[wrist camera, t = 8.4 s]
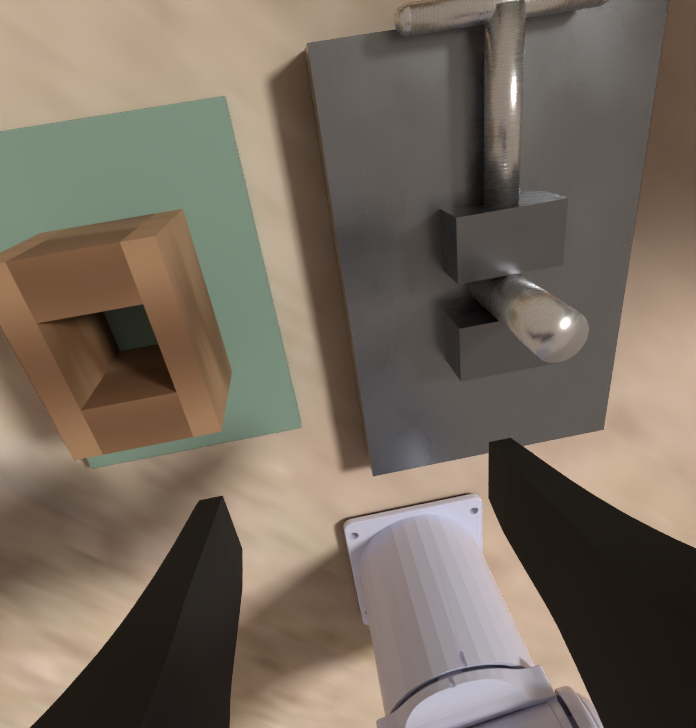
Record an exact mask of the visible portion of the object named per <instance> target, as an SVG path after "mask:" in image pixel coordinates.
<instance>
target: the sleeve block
mask: <svg viewBox="0 0 696 728" xmlns="http://www.w3.org/2000/svg"><path fill="white" fill-rule="evenodd" d="M141 304H143V305H144V307H145V310H146V313H147V315H148V318H149V321H150V323H151V326H152V329H153V331H154V334H155V336H156V339H157V342H158V344H157V345H151V346H146V347H140V348H135V349H130V350H124V351H120V349H119V347H118V345H117V342H116V340H115V338H114V335H113V333H112V331H111V328H110V326H109V324H108V321H107V319H106V317H105V314H104V312H103V311H108V310H114V309H119V308H125V307H130V306H136V305H141ZM0 326H1V328H2V330H3V332H4V333H5V335H6V337H7V339H8V341H9V343H10V344H11V346H12V348H13V350H14V352H15V353H16V355H17V357H18V359H19V361H20V363H21V364H22V366H23V368H24V370H25V372H26V373H27V375H28V377H29V379H30V381H31V383H32V384H33V386H34V388H35V390H36V392H37V393H38V395H39V397H40V399H41V401H42V403H43V404H44V406H45V408H46V410H47V412H48V413H49V415H50V417H51V419H52V421H53V423H54V424H55V426H56V428H57V430H58V432H59V433H60V435H61V437H62V439H63V441H64V443H65V444H66V446H67V448H68V450H69V452H70V453H71V455H72V457H73V459H74V460H79V459H84V458H89V457H94V456H100V455H105V454H110V453H115V452H120V451H125V450H130V449H135V448H140V447H146V446H151V445H156V444H161V443H166V442H171V441H176V440H181V439H186V438H191V437H197V436H202V435H207V434H212V433H217V432H222V426H223V421H224V415H225V409H226V403H227V398H228V392H229V386H230V381H231V375H232V369H231V366H230V363H229V359H228V356H227V353H226V350H225V346H224V343H223V340H222V336H221V333H220V330H219V326H218V323H217V320H216V317H215V313H214V310H213V307H212V303H211V300H210V297H209V293H208V290H207V287H206V283H205V280H204V277H203V274H202V270H201V267H200V264H199V260H198V257H197V254H196V250H195V247H194V244H193V241H192V237H191V234H190V231H189V227H188V224H187V221H186V217H185V214H184V211H183V209H178V210H172V211H166V212H160V213H155V214H149V215H143V216H137V217H131V218H125V219H120V220H114V221H108V222H102V223H96V224H90V225H85V226H79V227H73V228H67V229H61V230H55V231H49V232H44V233H39V234H37V235H35V236H33V237H31V238H29V239H27V240H25V241H23V242H21V243H19V244H17V245H15V246H13V247H11V248H9V249H7V250H5V251H3V252H1V253H0Z"/></svg>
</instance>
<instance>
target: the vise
mask: <svg viewBox="0 0 696 728" xmlns="http://www.w3.org/2000/svg"><path fill="white" fill-rule="evenodd" d="M668 5H669V0H423V1H416V2H410V3H405V4H403V5H401V6H400V7H399V8H398V10H397V12H396V14H395V18H394V23H395V27H396V30H390V31H383V32H377V33H370V34H364V35H357V36H351V37H344V38H338V39H331V40H325V41H318V42H312V43H307V45H306V48H305V55H306V62H307V68H308V74H309V81H310V87H311V94H312V100H313V107H314V113H315V120H316V126H317V132H318V139H319V145H320V152H321V158H322V165H323V171H324V178H325V184H326V190H327V197H328V203H329V210H330V216H331V223H332V229H333V236H334V242H335V248H336V255H337V261H338V268H339V274H340V281H341V287H342V294H343V300H344V306H345V313H346V319H347V326H348V332H349V339H350V345H351V352H352V358H353V364H354V371H355V377H356V384H357V390H358V397H359V403H360V410H361V416H362V422H363V429H364V435H365V442H366V448H367V455H368V459H369V463H370V466H371V470H372V474H373V476H377V475H382V474H387V473H392V472H397V471H402V470H407V469H411V468H416V467H421V466H426V465H431V464H436V463H441V462H446V461H451V460H456V459H461V458H466V457H471V456H476V455H480V454H485V453H489V442H491V441H496V440H501V439H506V438H512V439H513V440H515V441H516V442H518V443H519V444H520V445H522V446H525V445H530V444H535V443H540V442H545V441H549V440H554V439H559V438H564V437H569V436H574V435H579V434H584V433H589V432H594V431H599V430H604V423H605V417H606V410H607V404H608V397H609V391H610V384H611V378H612V371H613V365H614V358H615V351H616V345H617V338H618V332H619V325H620V319H621V312H622V306H623V299H624V293H625V286H626V279H627V273H628V266H629V260H630V253H631V247H632V240H633V234H634V227H635V221H636V214H637V207H638V201H639V194H640V188H641V181H642V175H643V168H644V162H645V155H646V149H647V142H648V135H649V129H650V122H651V116H652V109H653V103H654V96H655V90H656V83H657V77H658V70H659V63H660V57H661V50H662V44H663V37H664V31H665V24H666V18H667V11H668Z"/></svg>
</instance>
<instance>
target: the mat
mask: <svg viewBox="0 0 696 728" xmlns="http://www.w3.org/2000/svg"><path fill="white" fill-rule="evenodd" d="M178 209H183V211H184V214H185V217H186V221H187V224H188V227H189V231H190V234H191V237H192V241H193V244H194V247H195V250H196V254H197V257H198V260H199V264H200V267H201V270H202V274H203V277H204V280H205V283H206V287H207V290H208V293H209V297H210V300H211V303H212V307H213V310H214V313H215V317H216V320H217V323H218V326H219V330H220V333H221V336H222V340H223V343H224V346H225V350H226V353H227V356H228V359H229V363H230V366H231V369H232V375H231V381H230V386H229V392H228V398H227V403H226V409H225V415H224V421H223V426H222V432H217V433H212V434H207V435H202V436H197V437H191V438H186V439H181V440H176V441H171V442H166V443H161V444H156V445H151V446H146V447H140V448H135V449H130V450H125V451H120V452H115V453H110V454H105V455H100V456H94V457H89V458H86V459H87V461H88V463H89V465H90V467H91V468H92V469H94V468H99V467H104V466H109V465H114V464H119V463H125V462H130V461H135V460H140V459H145V458H150V457H155V456H160V455H165V454H170V453H176V452H181V451H186V450H191V449H196V448H201V447H206V446H211V445H216V444H221V443H227V442H232V441H237V440H242V439H247V438H252V437H257V436H262V435H267V434H272V433H278V432H283V431H288V430H293V429H298V428H301V420H300V415H299V411H298V407H297V402H296V398H295V394H294V390H293V385H292V381H291V377H290V372H289V368H288V364H287V360H286V355H285V351H284V347H283V342H282V338H281V334H280V330H279V325H278V321H277V317H276V312H275V308H274V304H273V300H272V295H271V291H270V287H269V282H268V278H267V274H266V270H265V265H264V261H263V257H262V252H261V248H260V244H259V240H258V235H257V231H256V227H255V222H254V218H253V214H252V209H251V205H250V201H249V197H248V192H247V188H246V184H245V179H244V175H243V171H242V167H241V162H240V158H239V154H238V149H237V145H236V141H235V137H234V132H233V128H232V124H231V119H230V115H229V111H228V107H227V102H226V98H225V96H221V97H215V98H208V99H202V100H196V101H189V102H183V103H177V104H170V105H164V106H158V107H151V108H145V109H139V110H133V111H126V112H120V113H114V114H107V115H101V116H95V117H88V118H82V119H76V120H69V121H63V122H57V123H51V124H44V125H38V126H32V127H25V128H19V129H13V130H6V131H0V253H1V252H3V251H5V250H7V249H9V248H11V247H13V246H15V245H17V244H19V243H21V242H23V241H25V240H27V239H29V238H31V237H33V236H35V235H37V234H39V233H44V232H49V231H55V230H61V229H67V228H73V227H79V226H85V225H90V224H96V223H102V222H108V221H114V220H120V219H125V218H131V217H137V216H143V215H149V214H155V213H160V212H166V211H172V210H178ZM103 312H104V314H105V317H106V319H107V321H108V324H109V326H110V328H111V331H112V333H113V335H114V338H115V340H116V342H117V345H118V347H119V349H120V351H124V350H130V349H135V348H140V347H146V346H151V345H157V344H158V342H157V339H156V336H155V334H154V331H153V329H152V326H151V323H150V321H149V318H148V315H147V313H146V310H145V307H144V305H143V304H141V305H136V306H130V307H125V308H119V309H114V310H108V311H103Z"/></svg>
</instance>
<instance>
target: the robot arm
mask: <svg viewBox="0 0 696 728" xmlns="http://www.w3.org/2000/svg"><path fill="white" fill-rule="evenodd" d="M488 498H489V500H490V503H491V505H492V507H493V510H494V512H495V514H496V517H497V519H498V521H499V523H500V526H501V528H502V530H503V532H504V534H505V536H506V538H507V539H508V541H509V543H510V545H511V546H512V548H513V550H514V551H515V553H516V555H517V557H518V558H519V560H520V562H521V563H522V565H523V567H524V569H525V570H526V572H527V574H528V575H529V577H530V579H531V580H532V582H533V584H534V585H535V587H536V589H537V591H538V592H539V594H540V596H541V597H542V599H543V601H544V602H545V604H546V606H547V608H548V609H549V611H550V613H551V615H552V617H553V619H554V621H555V622H556V624H557V626H558V628H559V630H560V632H561V635H562V637H563V639H564V641H565V643H566V645H567V647H568V649H569V652H570V654H571V656H572V658H573V660H574V662H575V664H576V667H577V669H578V671H579V673H580V675H581V678H582V680H583V682H584V684H585V687H586V689H587V691H588V693H589V695H590V698H591V700H592V702H593V704H594V705H593V704H592V703H591V702H590V701H589V700H588V699H587V698H585V697H583V696H582V695H580V694H578V693H576V692H575V691H574V690H573V689H572V688H570V687H569V686H563V687H560V688H557V689H555V693H554V691H553V689H552V687H551V685H550V683H549V681H548V678H547V676H546V674H545V672H544V670H543V668H542V666H540V665H537V666H535V665H534V663H533V661H532V659H531V657H530V655H529V653H528V650H527V648H526V646H525V644H524V642H523V640H522V638H521V635H520V633H519V631H518V629H517V627H516V625H515V623H514V621H513V618H512V616H511V614H510V612H509V610H508V608H507V606H506V604H505V601H504V599H503V597H502V595H501V593H500V591H499V589H498V586H497V584H496V582H495V580H494V578H493V576H492V574H491V572H490V569H489V567H488V565H487V563H486V561H485V559H484V557H483V554H482V500H481V498H480V496H479V495H477V494H468V495H464V496H459V497H454V498H449V499H444V500H439V501H435V502H430V503H425V504H420V505H415V506H410V507H406V508H401V509H396V510H391V511H386V512H381V513H377V514H372V515H367V516H362V517H357V518H353V519H349V520H347V521H346V522H345V523H344V525H343V528H344V533H345V538H346V543H347V548H348V553H349V557H350V562H351V567H352V572H353V577H354V582H355V586H356V591H357V596H358V601H359V606H360V611H361V615H362V620H363V623H364V624H365V625H367V626H369V628H370V634H371V639H372V645H373V650H374V656H375V661H376V667H377V672H378V678H379V683H380V689H381V695H382V700H383V706H384V711H385V717H383V718H381V719H378V720H377V722H376V723H377V728H696V548H694V547H692V546H690V545H687V544H685V543H683V542H681V541H678V540H676V539H674V538H672V537H670V536H668V535H666V534H664V533H662V532H660V531H658V530H656V529H654V528H652V527H650V526H648V525H646V524H644V523H642V522H640V521H638V520H636V519H634V518H633V517H631V516H629V515H627V514H625V513H623V512H622V511H620V510H618V509H616V508H615V507H613V506H611V505H610V504H608V503H606V502H605V501H603V500H601V499H600V498H598V497H596V496H595V495H593V494H592V493H590V492H588V491H587V490H585V489H584V488H582V487H581V486H579V485H578V484H576V483H575V482H573V481H572V480H570V479H569V478H567V477H566V476H564V475H563V474H561V473H560V472H558V471H557V470H555V469H554V468H553V467H551V466H550V465H548V464H547V463H545V462H544V461H543V460H541V459H540V458H538V457H537V456H536V455H534V454H533V453H532V452H530V451H529V450H527V449H526V448H525V447H523V446H522V445H520V444H519V443H518V442H516V441H515V440H513V439H512V438H506V439H501V440H496V441H491V442H489V497H488ZM472 508H473V509H472ZM352 533H355V534H352ZM241 595H242V547H241V544H240V541H239V539H238V536H237V533H236V531H235V528H234V525H233V522H232V520H231V517H230V514H229V512H228V509H227V506H226V503H225V501H224V498H223V496H219V497H214V498H209V499H204V500H199V502H198V503H197V504H196V506H195V508H194V510H193V511H192V513H191V515H190V517H189V519H188V520H187V522H186V524H185V526H184V527H183V529H182V531H181V533H180V534H179V536H178V538H177V540H176V541H175V543H174V545H173V546H172V548H171V550H170V551H169V553H168V554H167V556H166V558H165V559H164V561H163V563H162V564H161V566H160V567H159V569H158V571H157V572H156V574H155V575H154V577H153V579H152V580H151V581H150V583H149V584H148V586H147V587H146V589H145V590H144V592H143V593H142V595H141V596H140V598H139V599H138V601H137V602H136V604H135V605H134V607H133V608H132V609H131V611H130V612H129V613H128V615H127V616H126V618H125V619H124V620H123V622H122V623H121V624H120V626H119V627H118V628H117V630H116V631H115V632H114V634H113V635H112V636H111V637H110V639H109V640H108V641H107V642H106V644H105V645H104V646H103V648H102V649H101V650H100V651H99V652H98V654H97V655H96V656H95V657H94V658H93V660H92V661H91V662H90V663H89V664H88V665H87V667H86V668H85V669H84V670H83V671H82V672H81V673H80V675H79V676H78V677H77V678H76V679H75V680H74V681H73V682H72V684H71V685H70V686H69V687H68V688H67V689H66V690H65V692H64V693H63V694H62V695H61V696H60V697H59V698H58V699H57V700H56V701H55V702H54V703H53V705H52V706H51V707H50V708H49V709H48V710H47V711H46V712H45V713H44V714H43V715H42V716H41V717H40V718H39V719H38V720H37V721H36V722H35V723H34V724H33V725H32V726H31V727H30V728H229V726H230V696H231V683H232V673H233V664H234V656H235V648H236V639H237V631H238V622H239V613H240V605H241Z"/></svg>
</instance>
